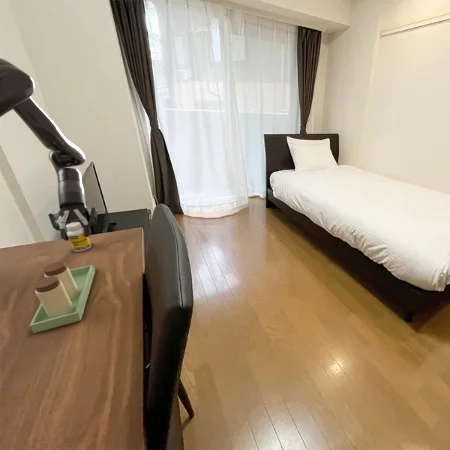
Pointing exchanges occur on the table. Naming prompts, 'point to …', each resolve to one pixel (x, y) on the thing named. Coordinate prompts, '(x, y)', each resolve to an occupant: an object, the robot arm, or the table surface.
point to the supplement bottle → (77, 237)
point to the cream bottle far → (53, 297)
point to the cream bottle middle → (63, 277)
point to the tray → (83, 283)
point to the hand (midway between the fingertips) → (76, 237)
